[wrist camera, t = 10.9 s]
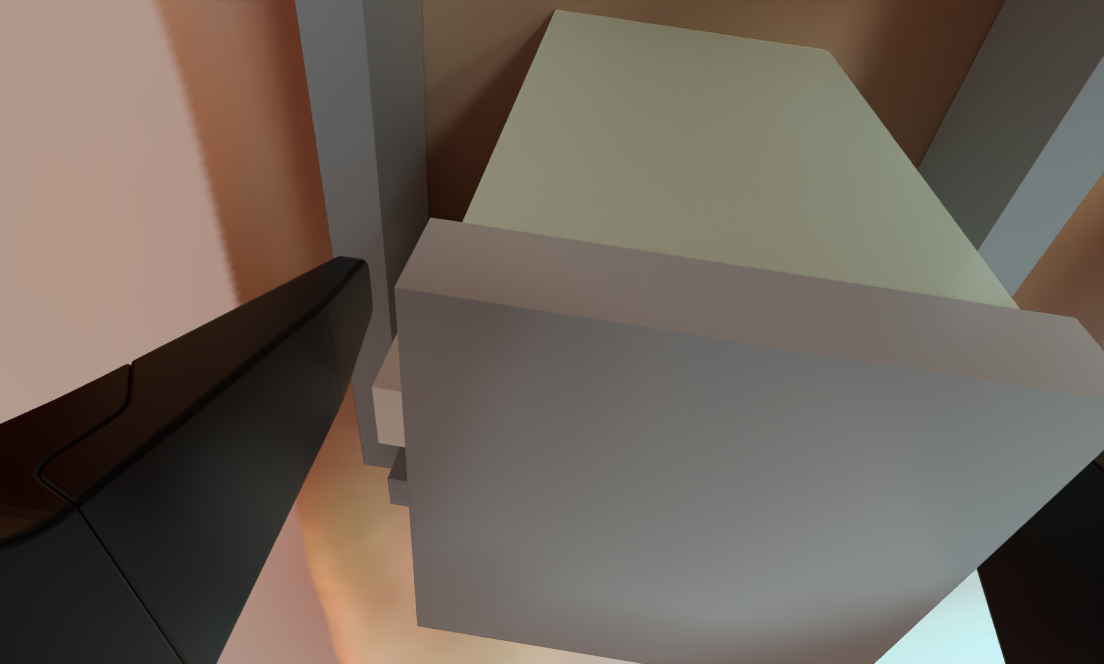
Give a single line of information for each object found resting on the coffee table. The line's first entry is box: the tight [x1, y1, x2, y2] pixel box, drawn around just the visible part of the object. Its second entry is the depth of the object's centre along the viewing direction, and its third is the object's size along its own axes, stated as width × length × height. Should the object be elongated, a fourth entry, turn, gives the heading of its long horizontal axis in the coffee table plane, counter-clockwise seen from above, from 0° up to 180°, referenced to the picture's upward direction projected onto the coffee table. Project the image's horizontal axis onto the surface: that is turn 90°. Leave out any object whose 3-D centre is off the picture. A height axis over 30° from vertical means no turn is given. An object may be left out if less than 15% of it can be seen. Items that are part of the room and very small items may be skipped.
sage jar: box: [394, 9, 1104, 664], centre depth 10 cm, size 5×5×9 cm
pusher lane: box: [295, 0, 1104, 506], centre depth 10 cm, size 21×12×4 cm, turn 174°
